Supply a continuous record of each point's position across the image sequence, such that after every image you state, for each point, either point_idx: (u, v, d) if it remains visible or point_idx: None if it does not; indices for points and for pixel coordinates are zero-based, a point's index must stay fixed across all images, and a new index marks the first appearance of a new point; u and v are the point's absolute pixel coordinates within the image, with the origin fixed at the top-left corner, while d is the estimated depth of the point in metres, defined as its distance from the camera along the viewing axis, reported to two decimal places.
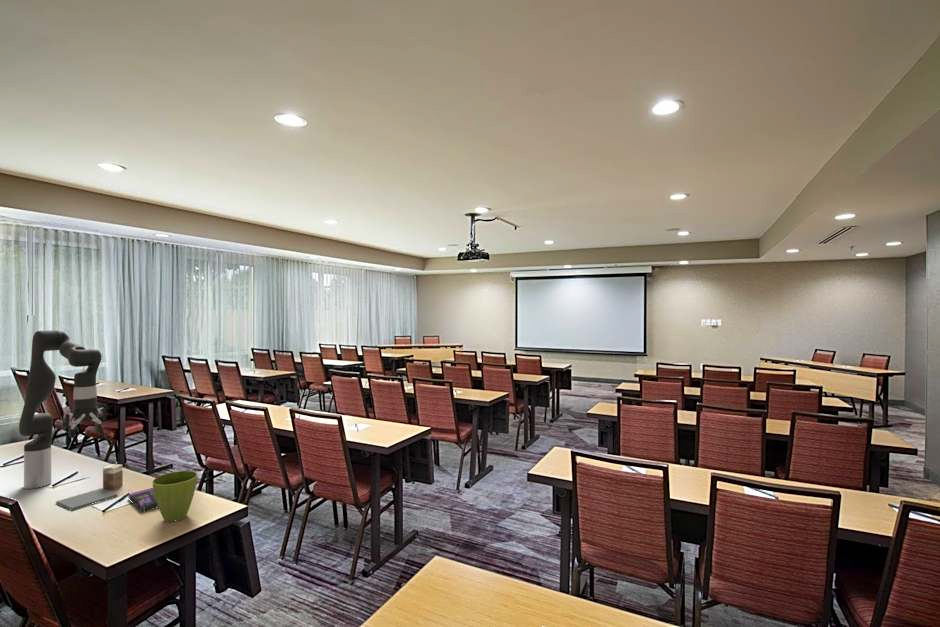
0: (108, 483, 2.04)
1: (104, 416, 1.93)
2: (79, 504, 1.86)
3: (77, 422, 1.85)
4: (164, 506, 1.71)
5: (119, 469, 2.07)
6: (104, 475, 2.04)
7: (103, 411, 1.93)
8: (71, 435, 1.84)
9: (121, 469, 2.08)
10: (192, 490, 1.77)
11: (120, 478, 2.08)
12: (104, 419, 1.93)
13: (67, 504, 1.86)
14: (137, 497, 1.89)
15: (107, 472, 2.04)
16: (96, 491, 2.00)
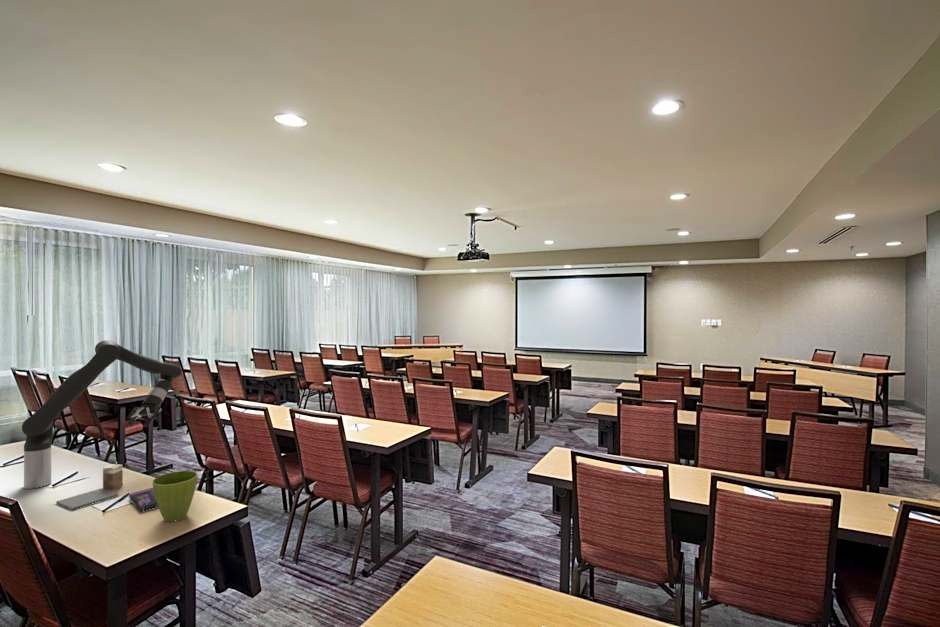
0: (108, 483, 2.04)
1: None
2: (79, 504, 1.86)
3: None
4: (164, 506, 1.71)
5: (119, 469, 2.07)
6: (104, 475, 2.04)
7: None
8: None
9: (121, 469, 2.08)
10: (192, 490, 1.77)
11: (120, 478, 2.08)
12: None
13: (67, 504, 1.86)
14: (137, 497, 1.90)
15: (107, 472, 2.04)
16: (96, 491, 2.00)
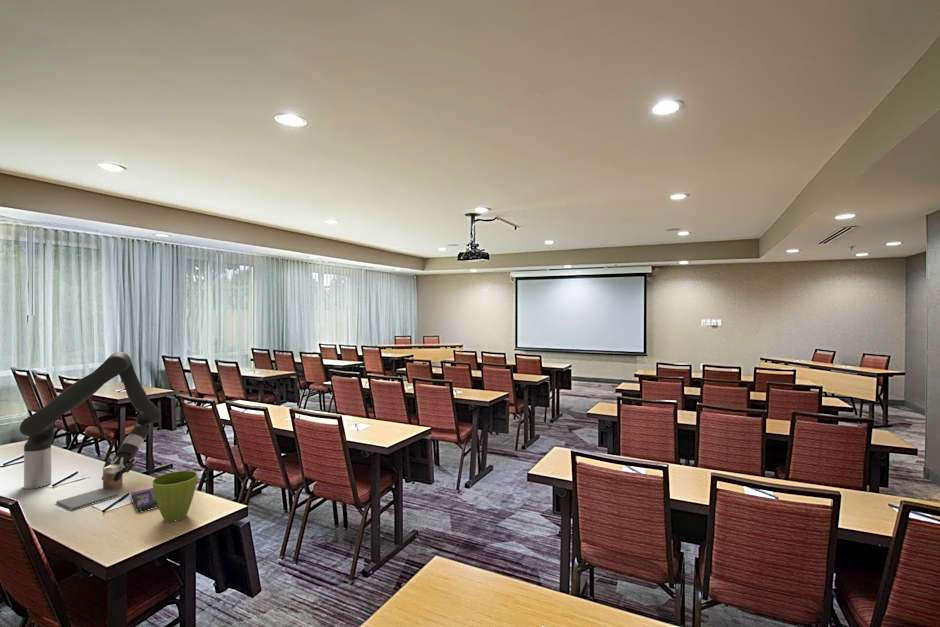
0: (108, 483, 2.04)
1: None
2: (79, 504, 1.86)
3: None
4: (164, 506, 1.71)
5: None
6: (104, 475, 2.04)
7: None
8: None
9: None
10: (192, 490, 1.77)
11: (120, 478, 2.08)
12: None
13: (67, 504, 1.86)
14: (137, 497, 1.90)
15: (107, 472, 2.04)
16: (96, 491, 2.00)
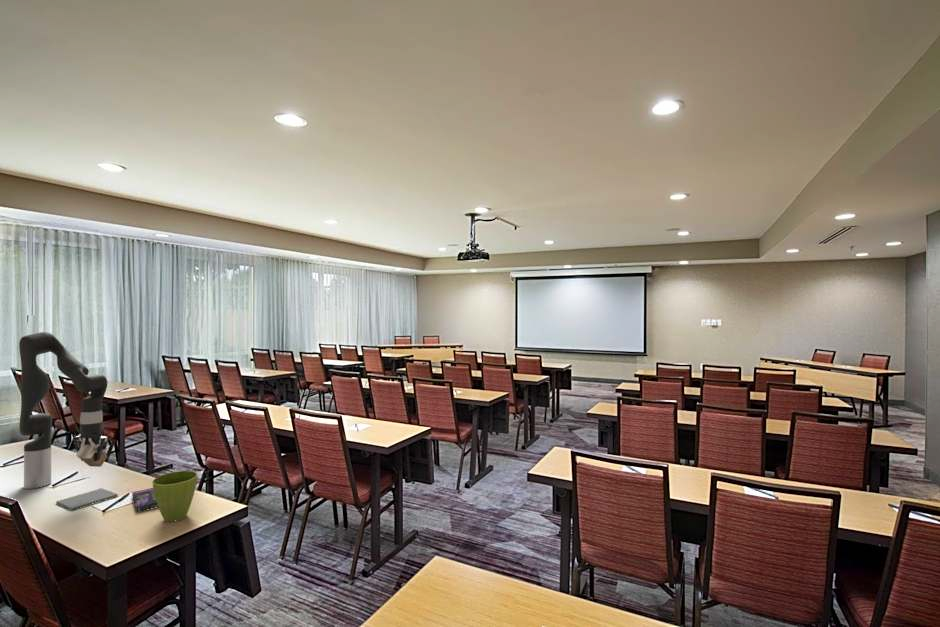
0: (91, 463, 1.94)
1: None
2: (79, 504, 1.86)
3: None
4: (164, 506, 1.71)
5: None
6: (82, 459, 1.92)
7: None
8: None
9: None
10: (192, 490, 1.77)
11: (101, 454, 1.96)
12: None
13: (67, 504, 1.86)
14: (137, 496, 1.90)
15: (83, 457, 1.91)
16: (96, 491, 2.00)
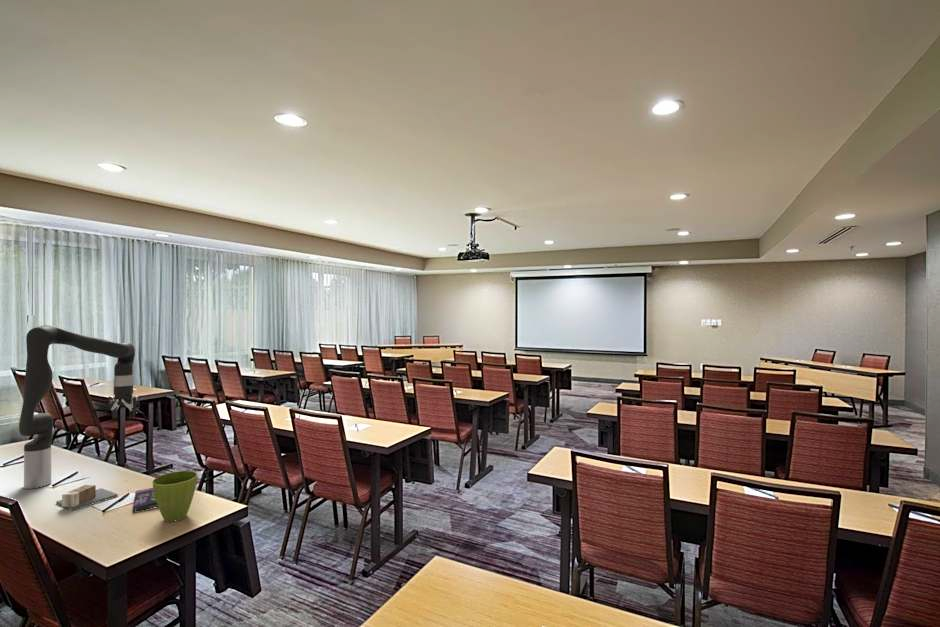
0: None
1: None
2: (79, 504, 1.86)
3: None
4: (164, 506, 1.71)
5: (77, 497, 1.86)
6: None
7: None
8: None
9: (78, 494, 1.86)
10: (192, 490, 1.77)
11: (87, 491, 1.90)
12: None
13: None
14: (138, 496, 1.91)
15: None
16: (96, 491, 2.00)
